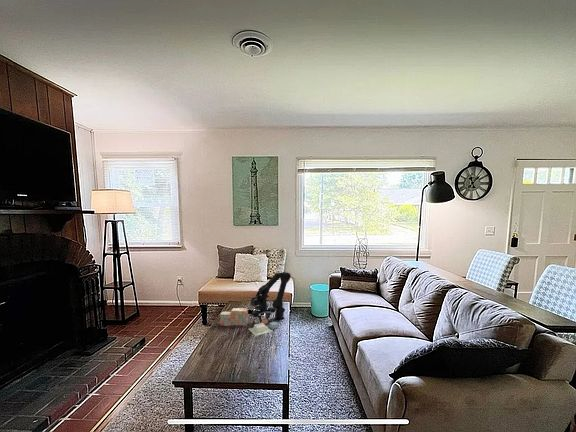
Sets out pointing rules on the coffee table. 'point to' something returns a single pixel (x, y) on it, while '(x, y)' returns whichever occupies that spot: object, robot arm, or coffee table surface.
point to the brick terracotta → (264, 320)
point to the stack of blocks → (234, 317)
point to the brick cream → (259, 327)
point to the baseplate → (259, 332)
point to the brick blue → (273, 325)
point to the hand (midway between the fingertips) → (263, 322)
